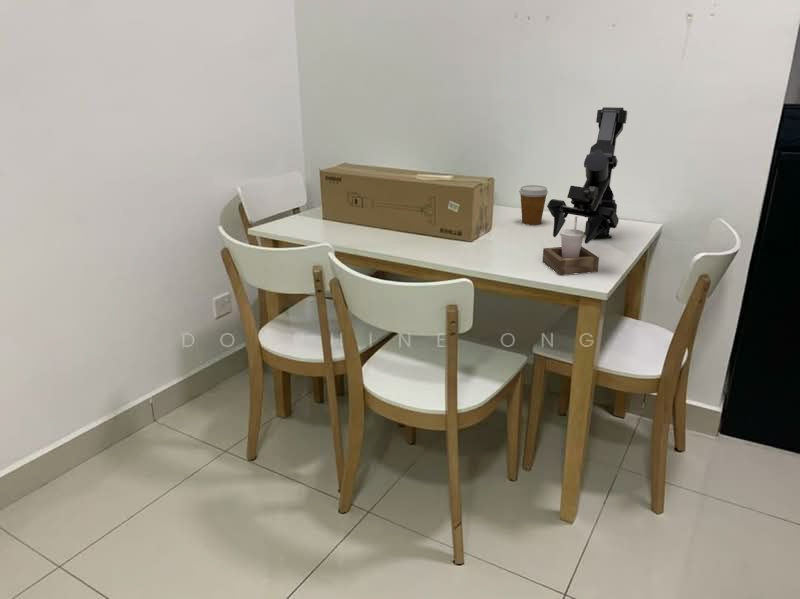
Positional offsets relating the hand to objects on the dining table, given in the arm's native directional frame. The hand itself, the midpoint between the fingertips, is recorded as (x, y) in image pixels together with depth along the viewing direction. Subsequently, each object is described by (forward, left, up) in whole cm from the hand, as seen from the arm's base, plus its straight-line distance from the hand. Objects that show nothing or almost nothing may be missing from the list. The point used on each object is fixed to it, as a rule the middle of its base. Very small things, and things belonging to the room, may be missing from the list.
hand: (569, 239), depth 163 cm
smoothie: (-1, -1, -8) cm, 8 cm away
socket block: (-1, -1, -8) cm, 8 cm away
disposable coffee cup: (-8, -46, -8) cm, 47 cm away
